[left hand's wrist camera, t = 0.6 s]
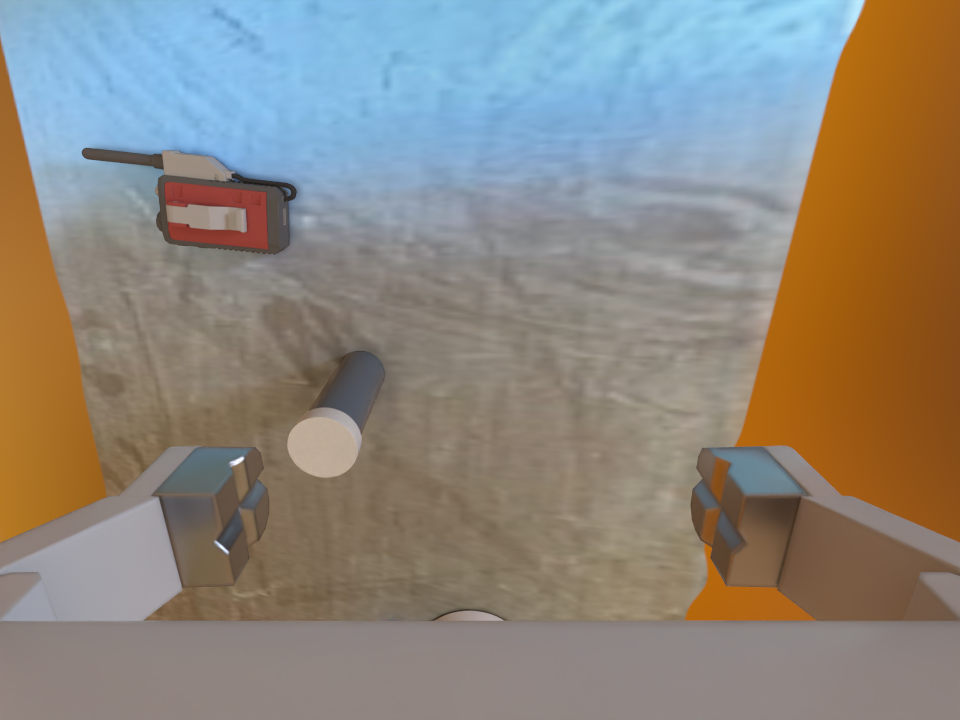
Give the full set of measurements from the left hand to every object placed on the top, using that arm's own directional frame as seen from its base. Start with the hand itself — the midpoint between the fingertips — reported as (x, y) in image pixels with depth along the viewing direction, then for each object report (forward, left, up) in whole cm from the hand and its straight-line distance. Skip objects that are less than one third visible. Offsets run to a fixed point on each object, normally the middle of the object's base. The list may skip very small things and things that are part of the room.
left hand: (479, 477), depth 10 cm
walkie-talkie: (-1, -28, -48) cm, 56 cm away
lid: (+18, -13, -32) cm, 39 cm away
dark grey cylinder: (+18, -13, -48) cm, 53 cm away
